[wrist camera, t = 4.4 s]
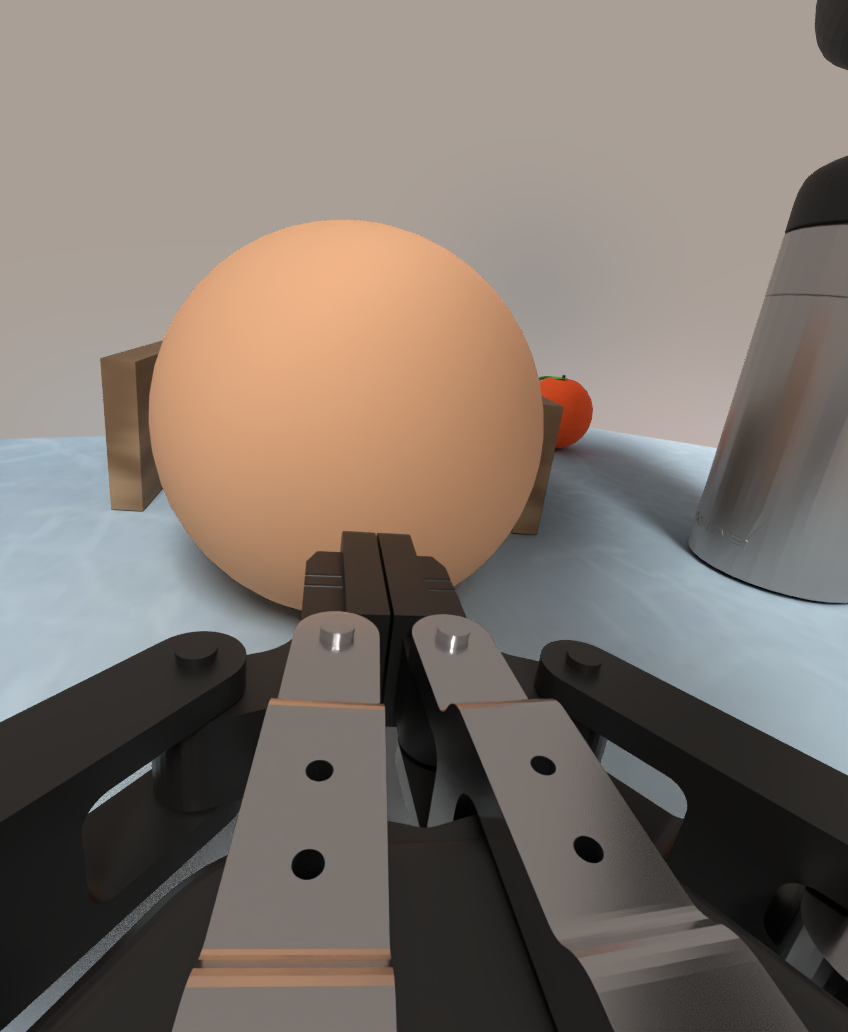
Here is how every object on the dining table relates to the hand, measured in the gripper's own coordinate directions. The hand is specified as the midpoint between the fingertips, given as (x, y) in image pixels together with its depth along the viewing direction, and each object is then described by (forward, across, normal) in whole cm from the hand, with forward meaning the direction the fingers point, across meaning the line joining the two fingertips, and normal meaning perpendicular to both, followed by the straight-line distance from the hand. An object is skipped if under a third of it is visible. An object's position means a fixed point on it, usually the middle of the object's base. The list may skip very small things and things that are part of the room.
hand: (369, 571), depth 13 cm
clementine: (+42, -21, +6) cm, 47 cm away
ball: (+10, 0, -1) cm, 10 cm away
